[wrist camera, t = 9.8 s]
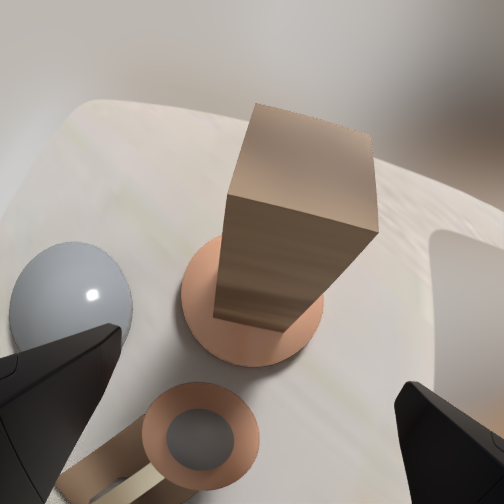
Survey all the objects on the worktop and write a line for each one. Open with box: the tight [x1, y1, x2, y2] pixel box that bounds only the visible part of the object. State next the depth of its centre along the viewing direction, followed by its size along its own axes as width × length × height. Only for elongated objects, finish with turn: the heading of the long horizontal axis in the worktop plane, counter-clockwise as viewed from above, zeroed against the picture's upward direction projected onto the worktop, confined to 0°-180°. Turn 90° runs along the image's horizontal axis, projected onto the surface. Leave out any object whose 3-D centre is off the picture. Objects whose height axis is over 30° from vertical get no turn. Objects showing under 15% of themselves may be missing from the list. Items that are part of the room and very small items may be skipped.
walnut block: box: [213, 103, 379, 333], centre depth 16 cm, size 5×5×13 cm
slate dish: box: [9, 242, 133, 352], centre depth 20 cm, size 10×10×1 cm
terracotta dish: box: [181, 235, 324, 367], centre depth 22 cm, size 10×10×1 cm
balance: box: [55, 382, 260, 504], centre depth 12 cm, size 19×6×9 cm, turn 133°
